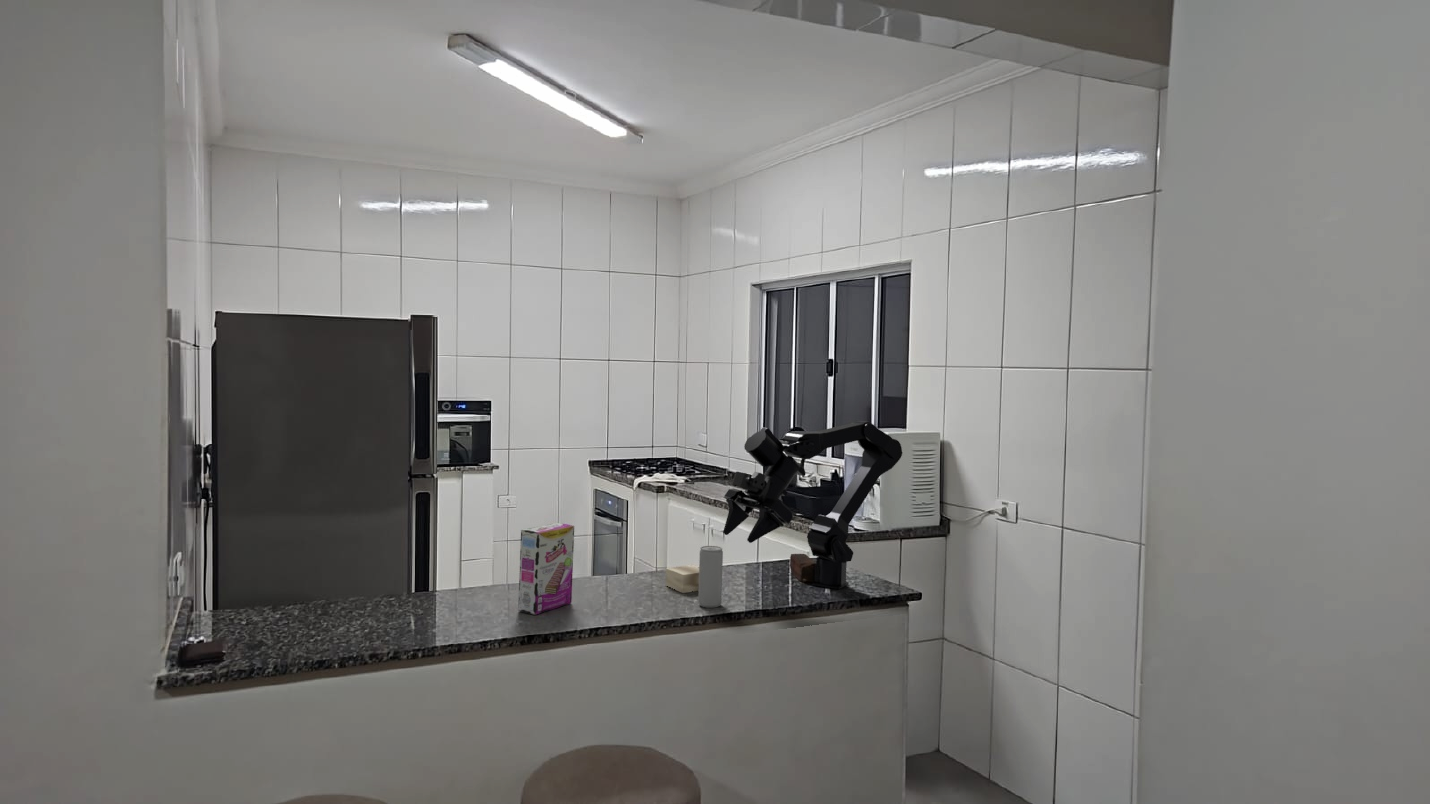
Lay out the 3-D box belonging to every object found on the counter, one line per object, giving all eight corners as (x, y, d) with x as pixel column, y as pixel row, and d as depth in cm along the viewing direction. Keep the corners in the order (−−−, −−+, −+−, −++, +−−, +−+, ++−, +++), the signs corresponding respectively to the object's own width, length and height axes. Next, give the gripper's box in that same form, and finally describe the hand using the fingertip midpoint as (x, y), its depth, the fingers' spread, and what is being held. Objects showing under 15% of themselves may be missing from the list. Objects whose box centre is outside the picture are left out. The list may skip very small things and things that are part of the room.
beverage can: (695, 603, 185) (696, 546, 184) (716, 601, 186) (718, 545, 186) (702, 609, 180) (704, 551, 180) (724, 607, 182) (726, 549, 181)
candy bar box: (536, 616, 172) (538, 532, 171) (517, 611, 175) (518, 529, 174) (573, 603, 182) (575, 524, 181) (555, 599, 184) (556, 521, 184)
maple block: (691, 582, 202) (691, 564, 202) (709, 588, 197) (709, 571, 196) (665, 585, 198) (665, 568, 198) (682, 593, 192) (683, 574, 192)
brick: (789, 572, 215) (789, 553, 215) (804, 572, 216) (805, 553, 216) (800, 583, 205) (801, 563, 205) (817, 583, 205) (817, 563, 205)
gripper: (729, 452, 198) (689, 508, 193) (779, 461, 182) (737, 523, 177) (759, 482, 203) (721, 538, 198) (810, 493, 187) (770, 554, 182)
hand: (736, 537), depth 188 cm, fingers open, 9 cm apart
